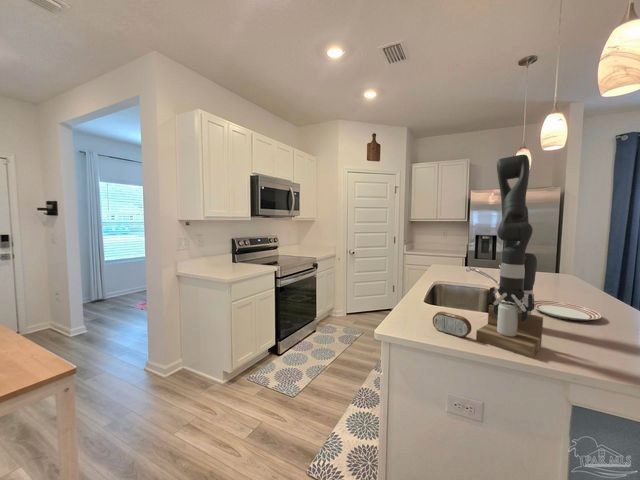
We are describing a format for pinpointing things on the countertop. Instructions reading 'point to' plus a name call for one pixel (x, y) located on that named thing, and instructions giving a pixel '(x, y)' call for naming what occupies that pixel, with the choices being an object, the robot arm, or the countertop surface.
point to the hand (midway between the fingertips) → (509, 317)
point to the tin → (451, 324)
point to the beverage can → (507, 319)
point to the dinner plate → (565, 310)
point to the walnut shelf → (522, 343)
